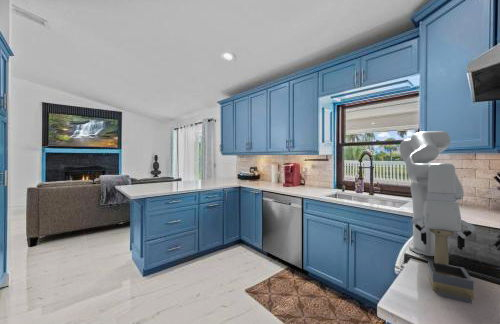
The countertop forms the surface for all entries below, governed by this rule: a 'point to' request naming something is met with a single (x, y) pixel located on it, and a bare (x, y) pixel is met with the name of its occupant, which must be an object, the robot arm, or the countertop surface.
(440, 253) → the handle
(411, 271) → the countertop surface
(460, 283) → the open grey tray
